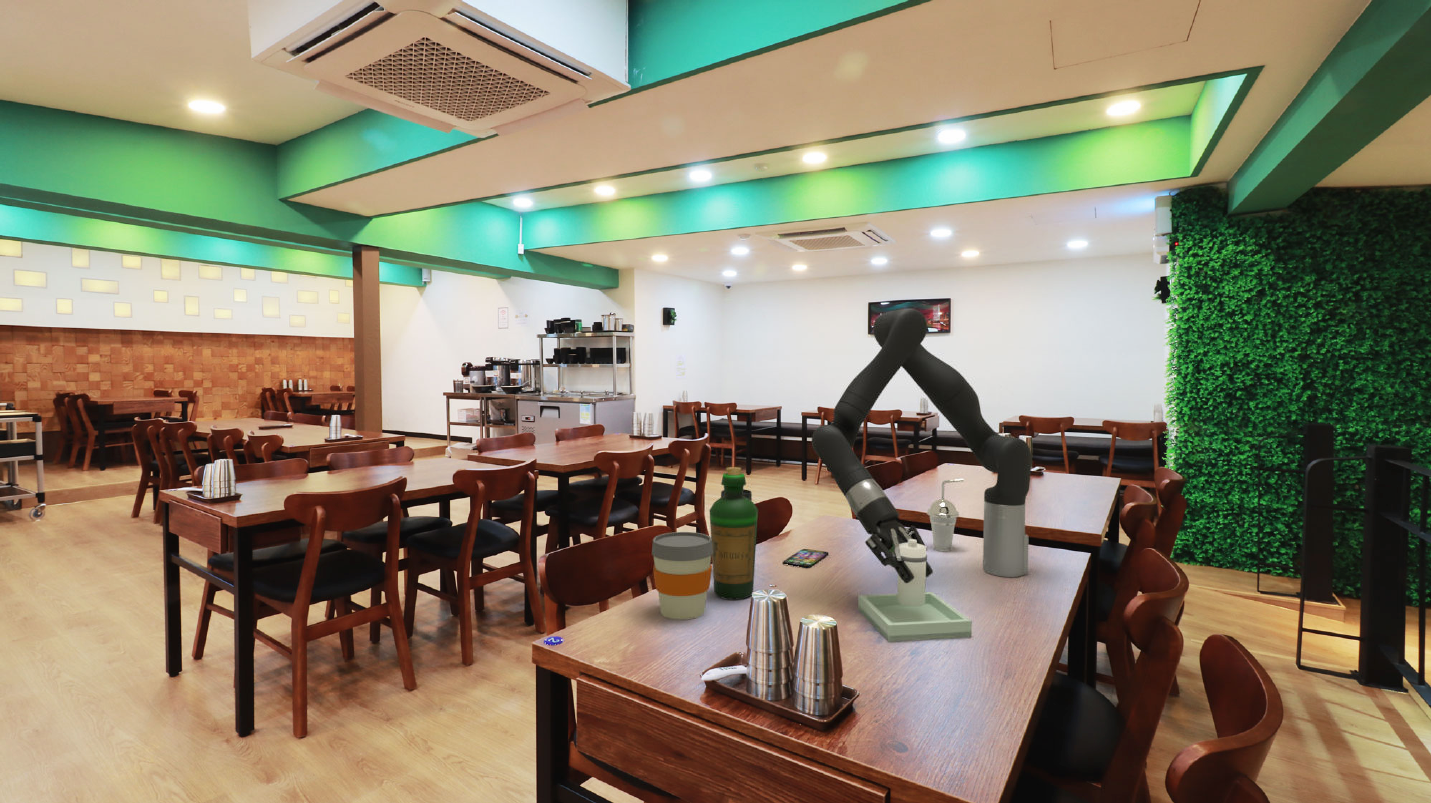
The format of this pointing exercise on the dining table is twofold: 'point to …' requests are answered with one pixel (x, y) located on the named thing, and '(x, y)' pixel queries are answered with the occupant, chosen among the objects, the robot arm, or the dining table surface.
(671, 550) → the reusable coffee cup
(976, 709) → the dining table surface
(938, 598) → the pale green rectangular tray
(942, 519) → the cup with straw
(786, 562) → the smartphone
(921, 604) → the white capped canister
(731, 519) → the bottle
